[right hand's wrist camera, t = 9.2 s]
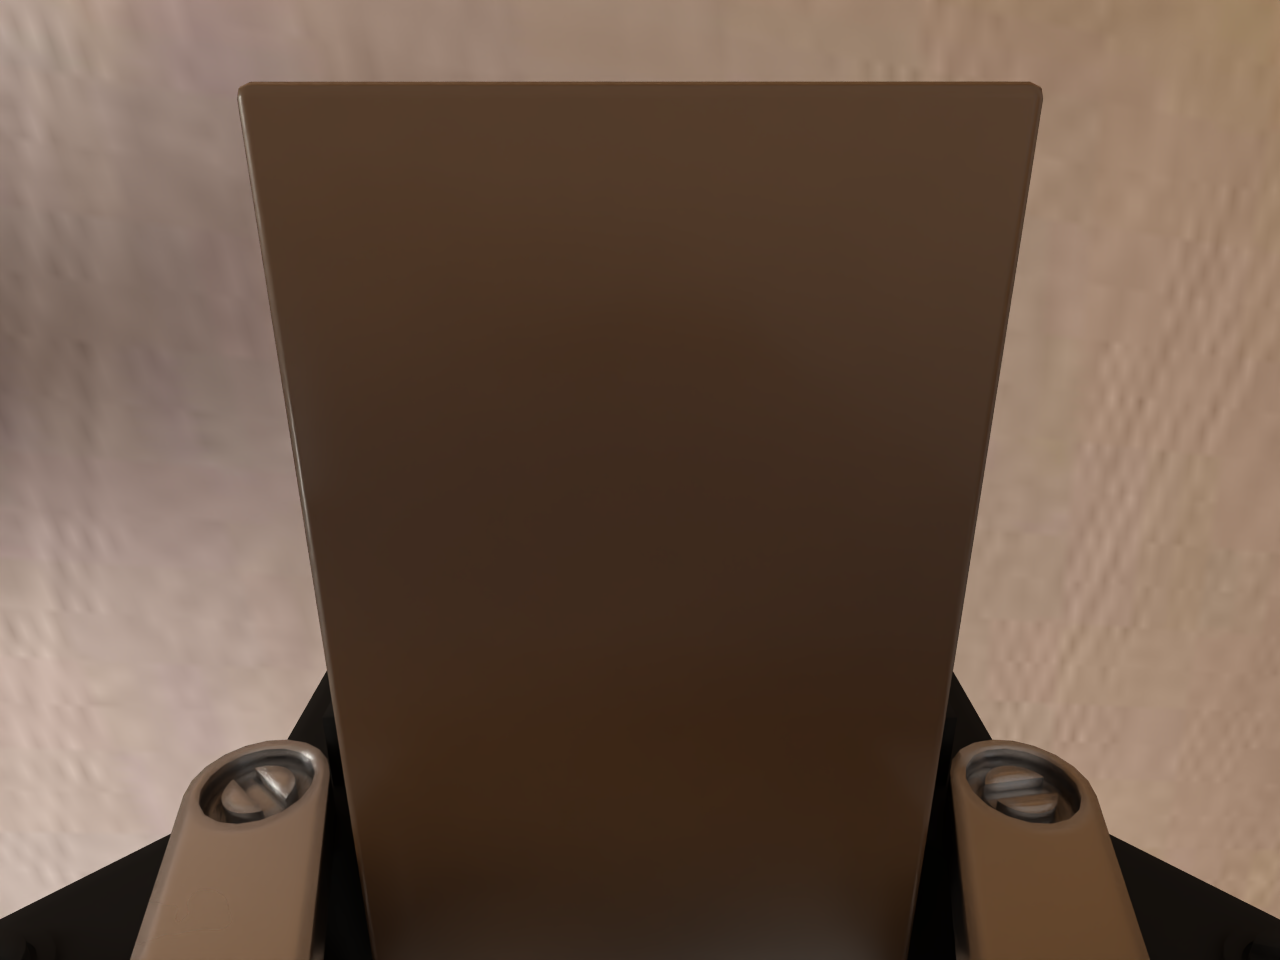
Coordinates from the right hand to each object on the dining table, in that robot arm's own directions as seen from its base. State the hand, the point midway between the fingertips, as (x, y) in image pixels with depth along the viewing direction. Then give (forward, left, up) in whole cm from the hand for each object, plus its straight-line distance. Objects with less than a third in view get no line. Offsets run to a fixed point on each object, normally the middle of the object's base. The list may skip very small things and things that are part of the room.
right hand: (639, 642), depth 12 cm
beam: (+19, -8, -3) cm, 21 cm away
